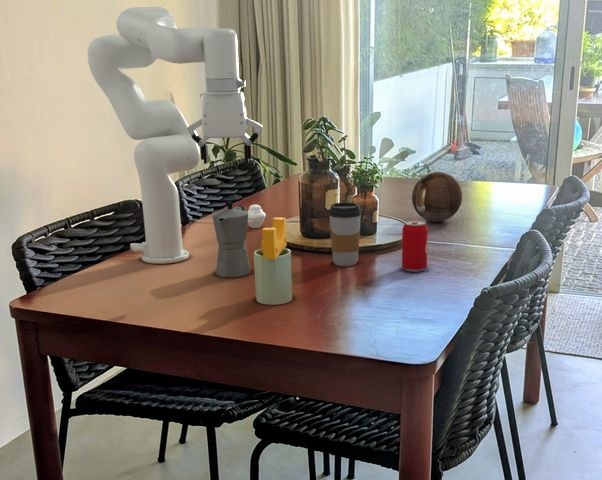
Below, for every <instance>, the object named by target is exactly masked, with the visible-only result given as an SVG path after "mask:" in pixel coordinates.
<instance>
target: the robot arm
mask: <svg viewBox="0 0 602 480" xmlns="http://www.w3.org/2000/svg"><path fill="white" fill-rule="evenodd" d="M116 29H117V33H118V34H117V33H115V34H106V35H101V36H97V37H96V38H94V39H92V40H91V42H90V43H89V45H88V48H87V62H88V67H89V71H90V73H91V76H92V77H93V79H94V81H95V82H96V84H97V85H98V87H99V88H100V90H101V91H102V92H103V93H104V95H105V96H106V98H107V99H108V101H109V103H110V104H111V107H112V109H113V111H114V112H115V114H116V116H117V118H118V120H119V122H120V124H121V126H122V128H123V130H124V131H125V133H126V134H127V136H128V137H129V138H130V139H132V140H134V141H135V140H136V141H140V142H138V143H137V145H136V146H135V147H134V150H133V159H134V160H133V161H134V164H135V168H136V171H137V175H138V180H139V185H140V193H141V202H142V203H141V205H142V214H143V215H142V216H143V226H144V236H145V237H144V238H145V241H142V242H141V243H137V242H133V243H132V242H131V243H130V245H129V246H130V251H131V252H134V253H139V252H142V253H141V255H140V256H141V261H143V262H145V263H148V264H157V265H165V264H166V265H167V264H174V263H179V262H182V261H185V260H187V259H188V258H189V257H190V253H189V251H188V250H187V249H184V248H183V247H184V246H183V237H182V223H181V222H182V221H181V211H180V197H179V195H180V194H179V189H178V187H177V186H176V184H175V183H174V181H173V180H172V178H171V177H170V175H172V174H176V173H182V172H187V171H191V170H194V169H195V168H196V167H197V166H198V165H199V163H200V160H201V161H203V164H204V165H207V164H208V163H209V149H208V148H209V146H208V145H207V142H208V140H209V139H236V138H237V139H238V138H240V139H241V140H242V141H243V142H244V146H243V147H244V163H245V164H249V163H250V160H252V144H253V143H254V142H255V141H256V140H257V139H258V138H259V136H260V134H261V132H262V129H263V125H262V124H261V123H259V122H257V121H256V120H252V119H251V118H249V117H247V106H246V101H245V100H246V99H245V95H244V92H243V91H240V90H241V88H246V80H243V79H240V71H239V51H238V35H237V32H236V31H235V30H234V29H233V28H229V27H228V28H226V27H225V28H224V27H222V28H219V27H218V28H217V27H216V28H215V27H209V26H205V27H204V26H200V27H198V26H197V27H196V26H195V27H177V24H176V21H175V19H174V16H173V15H172V13H171V12H170V11H169V10H168V9H166V8H165V7H161V6H134V7H128V8H126V9H124V10H123V11H121V12H120V13H119V15H118V17H117V19H116ZM158 59H159V60H162V61H165V62H168V63H171V64H194V63H204V74H205V76H204V77H205V91H206V92H203V95H202V106H201V119H199V120H197V121H195V122H194V123H192V124H190V125H189V124H188V122H187V121H186V118H185V117H184V114H183V113H182V111H181V110H180V108H179V107H178V105H176V104H175V103H174V102H173V101H170V100H167V99H156V100H149V99H147V98H146V97H145V95H144V94H143V92H142V90H141V88H140V86H139V85H138V84H137V82H136V81H135V80H134V79H132V78H131V77H130V76H129V75H128V74H126V73H125V72H124V71H122V70H126V69H128V70H129V69H139V68H140V69H141V68H148V67H150V66H151V65H153V64H154V63H155V62H156V61H157V60H158ZM248 126H249V127H252V128H254V132H253V134H251V136H249V135H248V134H247V133H248ZM200 127H201V128H202V137H201V136H200V135H198V133H197V132H196V129H197V128H200Z"/></svg>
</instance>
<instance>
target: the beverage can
mask: <svg viewBox="0 0 602 480" xmlns="http://www.w3.org/2000/svg"><path fill="white" fill-rule="evenodd" d="M401 235H402V236H401V267H402V269H403V270H404V271H407V272H410V273H411V272H412V273H419V272H423V271H424V270H426V269H427V268H428V240H429V238H428V236H429V228H428V224H427V222H426V221H425V220H423V219H409V220H406V221H404V223H403V226H402V229H401Z"/></svg>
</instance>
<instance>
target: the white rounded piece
mask: <svg viewBox="0 0 602 480" xmlns="http://www.w3.org/2000/svg"><path fill="white" fill-rule="evenodd" d="M247 211H248V223H247V225H249V227H250V228H251V229H259V228H262V226H263V224H264V221H265V218H266V213H265V212H264V211H263V209H262V207H261V206H260V205H259V204H252V205H250V206H249V208H248V210H247Z"/></svg>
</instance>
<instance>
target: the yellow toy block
mask: <svg viewBox="0 0 602 480" xmlns="http://www.w3.org/2000/svg"><path fill="white" fill-rule="evenodd" d="M261 234H262V237H261V238H262V240H261V241H260V246H261V247H260V249H261V251H262V252H263V259H276V258H277V256H278V255H279V254H280V253H281V252H282V250H283V249H284V248H287V246H288V243H287V240H288V239H287V217H282V216H279V217H278V216H275V217H273V218H272V227H263V228H262V229H261Z"/></svg>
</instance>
